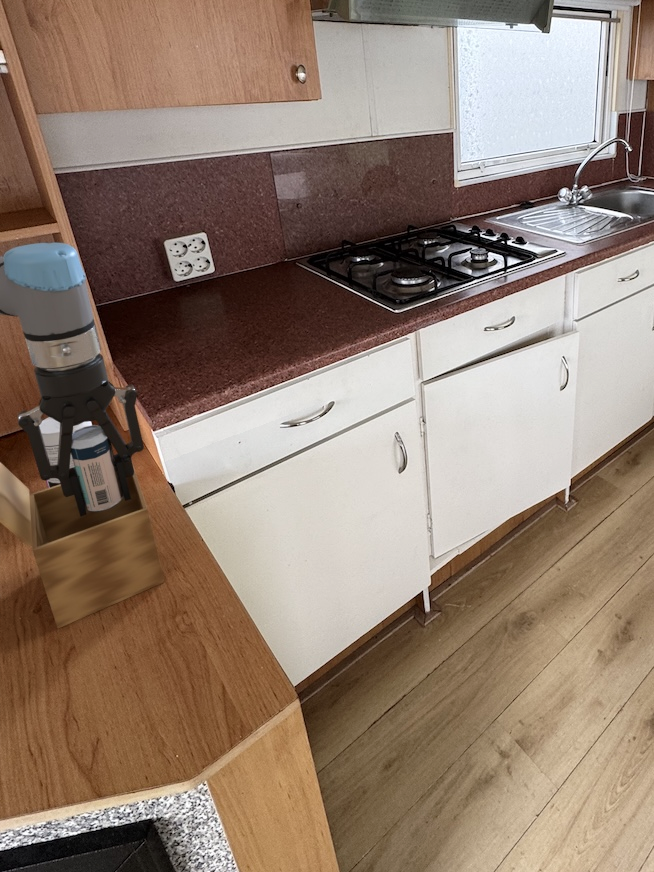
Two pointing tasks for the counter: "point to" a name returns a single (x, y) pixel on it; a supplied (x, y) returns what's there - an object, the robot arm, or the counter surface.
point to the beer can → (96, 468)
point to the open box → (92, 552)
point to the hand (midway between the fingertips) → (105, 502)
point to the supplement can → (55, 443)
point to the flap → (15, 506)
